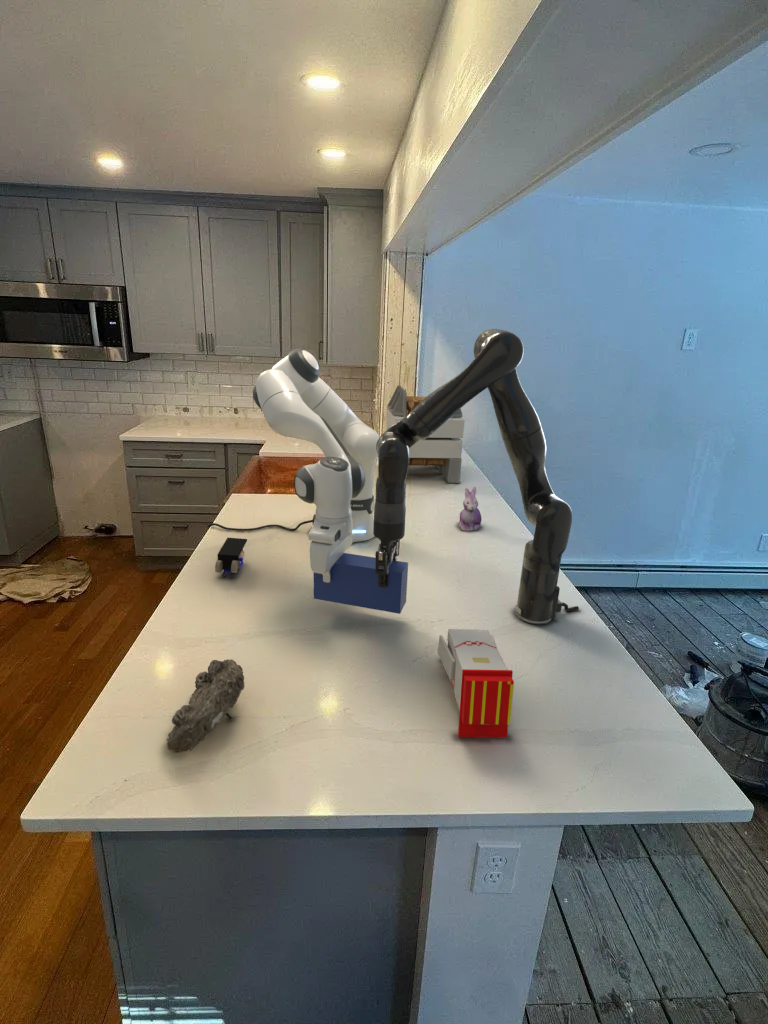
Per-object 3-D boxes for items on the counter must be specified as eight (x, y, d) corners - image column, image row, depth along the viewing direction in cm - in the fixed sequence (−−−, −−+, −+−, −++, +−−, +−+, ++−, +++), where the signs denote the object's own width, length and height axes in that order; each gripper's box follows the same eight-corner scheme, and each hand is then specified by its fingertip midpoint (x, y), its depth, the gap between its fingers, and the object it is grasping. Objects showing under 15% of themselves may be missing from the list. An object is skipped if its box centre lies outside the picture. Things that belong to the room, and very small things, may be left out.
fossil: (192, 660, 117) (244, 628, 112) (224, 691, 120) (276, 661, 115) (142, 746, 98) (202, 712, 93) (182, 779, 101) (242, 748, 96)
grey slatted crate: (382, 463, 289) (386, 382, 275) (445, 464, 293) (451, 384, 279) (390, 482, 257) (394, 392, 243) (460, 483, 261) (468, 394, 247)
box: (313, 598, 144) (313, 559, 140) (322, 587, 150) (322, 549, 146) (400, 613, 138) (402, 573, 135) (406, 602, 144) (408, 562, 140)
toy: (488, 613, 130) (523, 677, 101) (484, 667, 133) (517, 744, 104) (435, 612, 130) (455, 676, 101) (432, 666, 133) (451, 743, 103)
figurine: (467, 533, 203) (471, 493, 198) (451, 523, 211) (454, 485, 206) (488, 529, 207) (492, 490, 202) (471, 520, 215) (475, 482, 210)
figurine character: (238, 584, 162) (249, 557, 175) (236, 562, 158) (247, 536, 172) (215, 584, 161) (227, 556, 175) (212, 561, 158) (225, 535, 171)
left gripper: (336, 509, 149) (335, 556, 154) (305, 536, 131) (305, 590, 135) (359, 512, 148) (357, 560, 152) (330, 540, 129) (330, 594, 134)
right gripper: (397, 529, 127) (394, 596, 133) (411, 509, 140) (408, 571, 146) (365, 525, 129) (363, 591, 134) (382, 506, 142) (380, 566, 147)
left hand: (332, 574), depth 144 cm, fingers closed on box, 6 cm apart
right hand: (386, 580), depth 140 cm, fingers closed on box, 6 cm apart
